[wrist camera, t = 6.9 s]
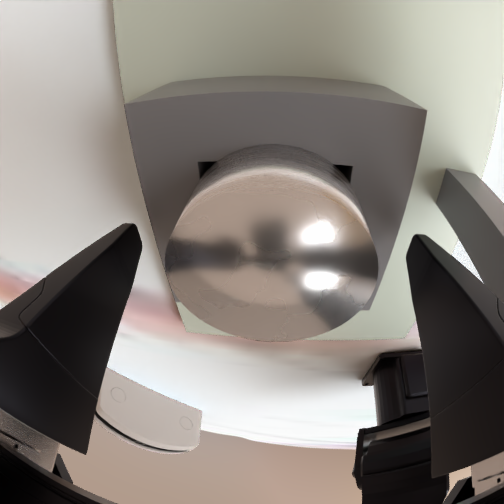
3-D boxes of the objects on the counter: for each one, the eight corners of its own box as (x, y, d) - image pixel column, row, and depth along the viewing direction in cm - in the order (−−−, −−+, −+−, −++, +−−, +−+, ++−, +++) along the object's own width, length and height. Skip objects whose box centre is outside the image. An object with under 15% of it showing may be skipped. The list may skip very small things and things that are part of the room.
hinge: (93, 371, 35) (77, 427, 26) (104, 355, 33) (88, 415, 25) (186, 414, 41) (187, 466, 32) (203, 402, 40) (206, 458, 31)
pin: (332, 227, 14) (351, 342, 9) (219, 223, 14) (186, 334, 9) (347, 116, 10) (404, 196, 5) (208, 112, 11) (141, 188, 6)
